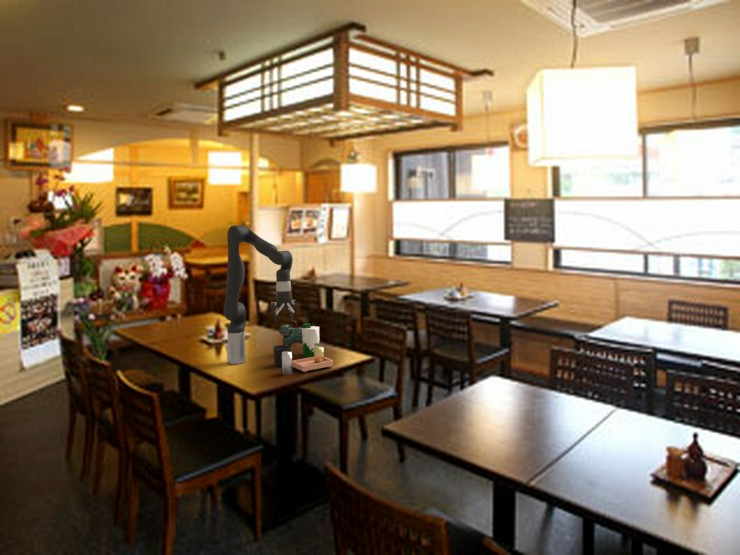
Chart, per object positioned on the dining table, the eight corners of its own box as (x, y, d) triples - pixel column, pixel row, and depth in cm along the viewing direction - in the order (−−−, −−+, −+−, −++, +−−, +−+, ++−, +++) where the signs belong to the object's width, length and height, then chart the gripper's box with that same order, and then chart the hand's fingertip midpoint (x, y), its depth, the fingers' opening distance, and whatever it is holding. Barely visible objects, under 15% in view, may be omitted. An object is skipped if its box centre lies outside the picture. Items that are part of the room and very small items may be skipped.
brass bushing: (317, 364, 283) (316, 349, 282) (312, 362, 287) (312, 347, 286) (325, 362, 286) (325, 347, 285) (320, 360, 290) (320, 345, 289)
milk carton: (306, 356, 307) (305, 322, 305) (321, 357, 305) (320, 322, 303) (301, 360, 299) (300, 325, 296) (317, 361, 297) (316, 325, 295)
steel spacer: (285, 375, 272) (284, 354, 271) (280, 373, 276) (280, 352, 275) (294, 373, 275) (293, 352, 273) (289, 371, 279) (289, 350, 277)
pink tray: (302, 373, 274) (302, 366, 274) (291, 368, 285) (291, 360, 284) (333, 367, 284) (333, 360, 284) (321, 362, 295) (321, 355, 294)
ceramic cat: (279, 354, 313) (278, 320, 311) (284, 351, 319) (282, 318, 317) (312, 356, 308) (311, 321, 306) (315, 353, 315) (314, 319, 312)
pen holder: (288, 361, 298) (287, 343, 296) (294, 365, 289) (293, 347, 288) (271, 364, 293) (271, 346, 292) (277, 368, 285) (276, 349, 284)
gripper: (292, 287, 284) (293, 318, 286) (267, 290, 276) (268, 321, 278) (299, 289, 278) (300, 320, 279) (273, 291, 270) (274, 323, 271)
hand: (284, 320), depth 278 cm, fingers open, 8 cm apart
